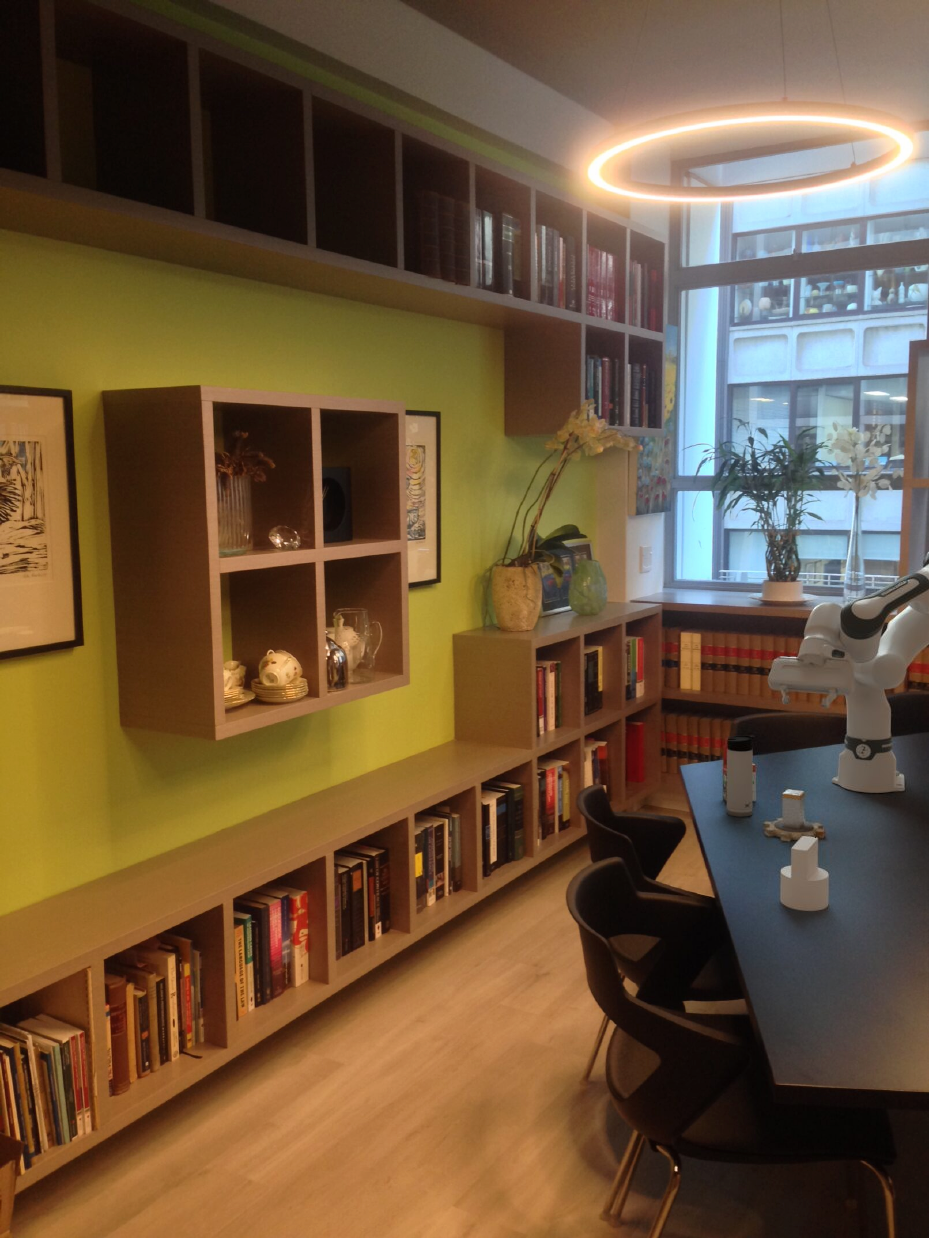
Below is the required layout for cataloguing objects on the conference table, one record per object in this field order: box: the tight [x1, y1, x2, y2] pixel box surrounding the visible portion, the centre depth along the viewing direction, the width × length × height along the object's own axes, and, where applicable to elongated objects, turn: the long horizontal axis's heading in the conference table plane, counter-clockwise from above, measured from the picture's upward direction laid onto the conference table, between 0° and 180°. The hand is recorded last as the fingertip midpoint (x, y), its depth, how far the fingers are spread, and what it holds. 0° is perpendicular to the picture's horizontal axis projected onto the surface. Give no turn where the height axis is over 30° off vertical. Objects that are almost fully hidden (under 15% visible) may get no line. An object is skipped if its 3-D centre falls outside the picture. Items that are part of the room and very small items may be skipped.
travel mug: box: [726, 734, 755, 818], centre depth 266 cm, size 6×7×20 cm
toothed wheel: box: [762, 817, 826, 843], centre depth 251 cm, size 14×14×2 cm
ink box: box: [722, 745, 757, 803], centre depth 278 cm, size 4×8×15 cm, turn 98°
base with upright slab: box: [779, 836, 830, 912], centre depth 208 cm, size 9×9×12 cm
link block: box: [781, 788, 806, 829], centre depth 250 cm, size 4×4×8 cm
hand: (804, 704), depth 255 cm, fingers open, 8 cm apart
